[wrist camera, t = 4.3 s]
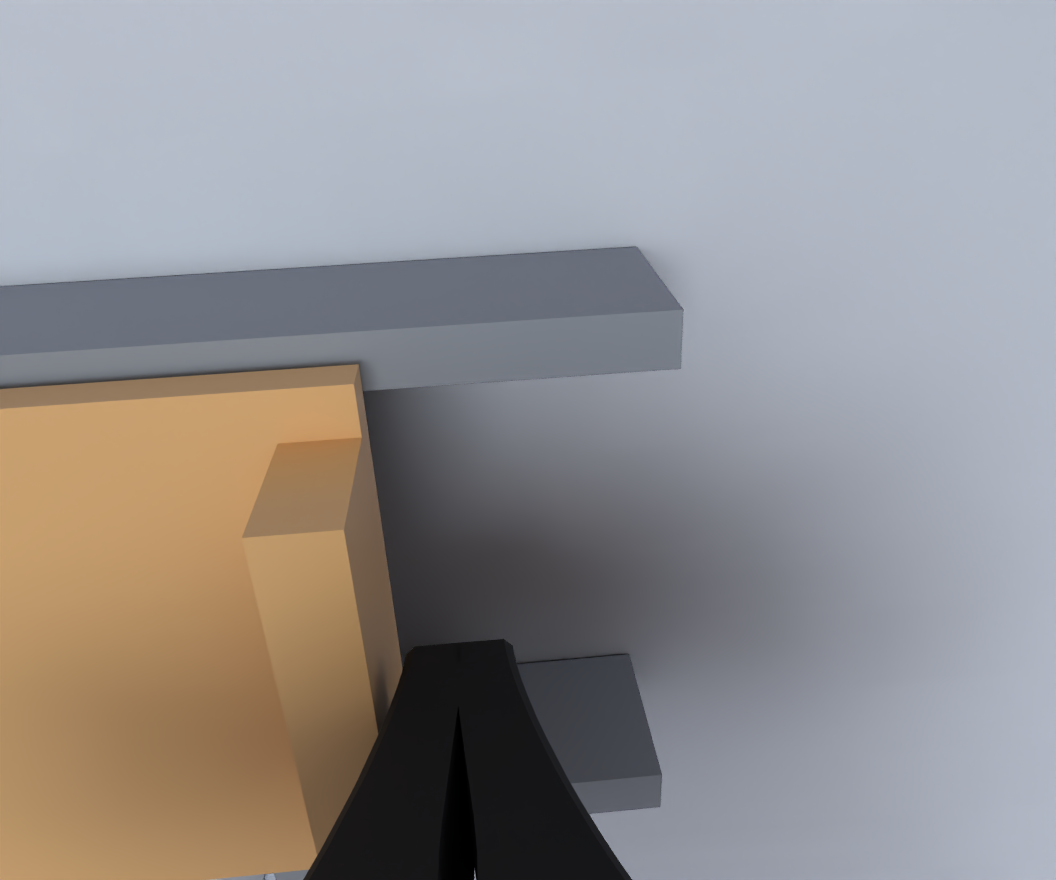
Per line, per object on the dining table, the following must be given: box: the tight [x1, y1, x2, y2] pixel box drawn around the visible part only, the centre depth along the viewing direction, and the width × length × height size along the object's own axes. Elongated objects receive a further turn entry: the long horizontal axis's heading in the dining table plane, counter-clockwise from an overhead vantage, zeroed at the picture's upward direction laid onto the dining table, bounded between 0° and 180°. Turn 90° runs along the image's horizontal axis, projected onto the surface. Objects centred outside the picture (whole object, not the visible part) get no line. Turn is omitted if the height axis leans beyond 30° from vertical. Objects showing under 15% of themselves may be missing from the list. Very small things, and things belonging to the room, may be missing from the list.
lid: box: [0, 364, 403, 880], centre depth 11 cm, size 8×10×3 cm
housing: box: [0, 247, 683, 880], centre depth 16 cm, size 17×17×3 cm
